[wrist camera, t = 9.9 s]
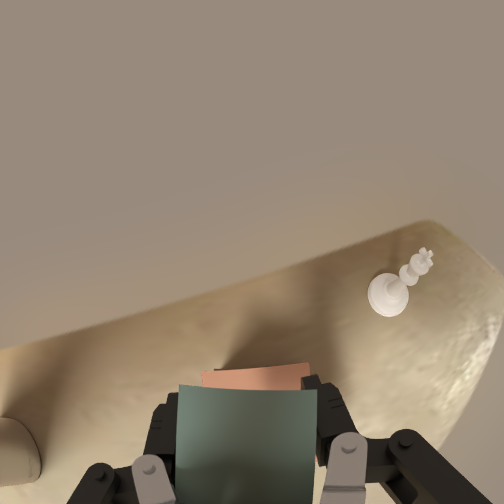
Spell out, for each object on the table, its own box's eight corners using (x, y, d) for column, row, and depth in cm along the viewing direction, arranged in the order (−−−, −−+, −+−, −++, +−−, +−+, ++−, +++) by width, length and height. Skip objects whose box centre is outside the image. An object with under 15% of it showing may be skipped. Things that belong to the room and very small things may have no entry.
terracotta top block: (217, 461, 20) (209, 470, 16) (210, 374, 23) (201, 371, 20) (312, 453, 20) (319, 461, 17) (302, 366, 23) (308, 361, 20)
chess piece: (395, 269, 31) (435, 221, 22) (413, 307, 28) (462, 270, 19) (360, 282, 30) (395, 234, 21) (377, 323, 28) (422, 289, 19)
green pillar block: (214, 459, 14) (175, 502, 7) (217, 389, 16) (179, 384, 9) (292, 462, 13) (311, 510, 6) (294, 391, 16) (317, 389, 8)
